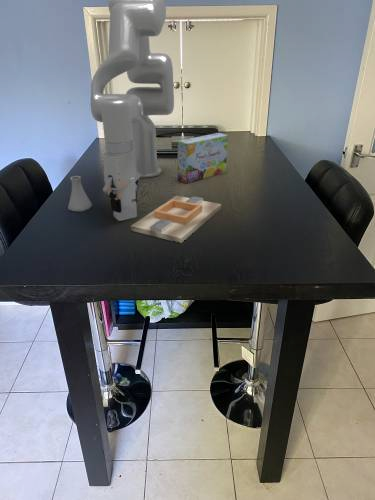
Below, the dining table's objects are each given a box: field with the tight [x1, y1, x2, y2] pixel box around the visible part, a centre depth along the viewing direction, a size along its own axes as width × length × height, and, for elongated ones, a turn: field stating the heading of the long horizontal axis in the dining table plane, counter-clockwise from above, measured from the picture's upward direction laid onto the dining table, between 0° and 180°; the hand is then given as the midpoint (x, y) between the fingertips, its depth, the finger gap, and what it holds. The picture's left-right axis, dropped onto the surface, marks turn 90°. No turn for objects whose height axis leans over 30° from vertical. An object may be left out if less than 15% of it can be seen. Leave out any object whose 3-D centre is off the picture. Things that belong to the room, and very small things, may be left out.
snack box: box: [177, 132, 229, 184], centre depth 143 cm, size 21×6×15 cm, turn 131°
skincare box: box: [112, 178, 138, 222], centre depth 111 cm, size 6×4×12 cm
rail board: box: [130, 195, 222, 244], centre depth 112 cm, size 16×26×4 cm, turn 152°
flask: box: [67, 175, 93, 212], centre depth 118 cm, size 7×7×10 cm
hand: (124, 206), depth 112 cm, fingers closed on skincare box, 7 cm apart
